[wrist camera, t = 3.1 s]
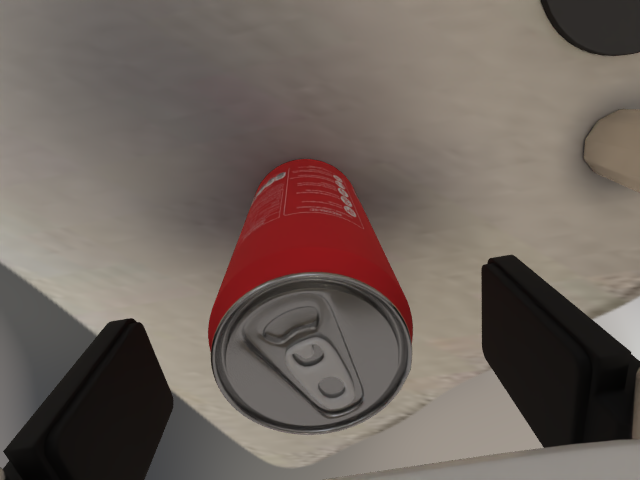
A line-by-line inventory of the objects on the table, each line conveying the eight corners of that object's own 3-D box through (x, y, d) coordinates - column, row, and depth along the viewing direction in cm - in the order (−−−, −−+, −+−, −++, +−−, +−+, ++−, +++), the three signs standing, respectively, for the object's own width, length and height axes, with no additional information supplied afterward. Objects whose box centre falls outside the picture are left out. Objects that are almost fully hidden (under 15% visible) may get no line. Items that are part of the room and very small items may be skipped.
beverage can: (326, 135, 19) (364, 221, 8) (371, 222, 20) (454, 393, 9) (236, 185, 19) (151, 330, 8) (287, 265, 21) (274, 468, 10)
